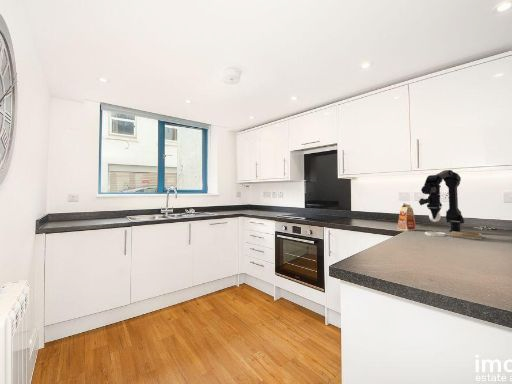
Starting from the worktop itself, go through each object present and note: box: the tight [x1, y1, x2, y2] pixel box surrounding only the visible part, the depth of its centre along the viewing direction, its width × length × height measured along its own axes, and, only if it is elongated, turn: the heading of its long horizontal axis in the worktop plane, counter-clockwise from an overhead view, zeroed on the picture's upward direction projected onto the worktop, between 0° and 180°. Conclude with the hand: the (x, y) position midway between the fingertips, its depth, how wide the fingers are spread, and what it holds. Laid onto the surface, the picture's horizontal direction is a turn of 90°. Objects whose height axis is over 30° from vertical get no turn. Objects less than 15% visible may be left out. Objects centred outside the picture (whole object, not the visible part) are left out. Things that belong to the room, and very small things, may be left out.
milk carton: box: [396, 202, 417, 231], centre depth 183 cm, size 9×9×20 cm
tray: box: [450, 231, 482, 240], centre depth 150 cm, size 12×14×2 cm
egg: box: [428, 211, 441, 223], centre depth 157 cm, size 6×6×8 cm
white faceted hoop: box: [424, 231, 446, 237], centre depth 157 cm, size 11×11×1 cm
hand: (434, 218), depth 157 cm, fingers closed on egg, 6 cm apart
